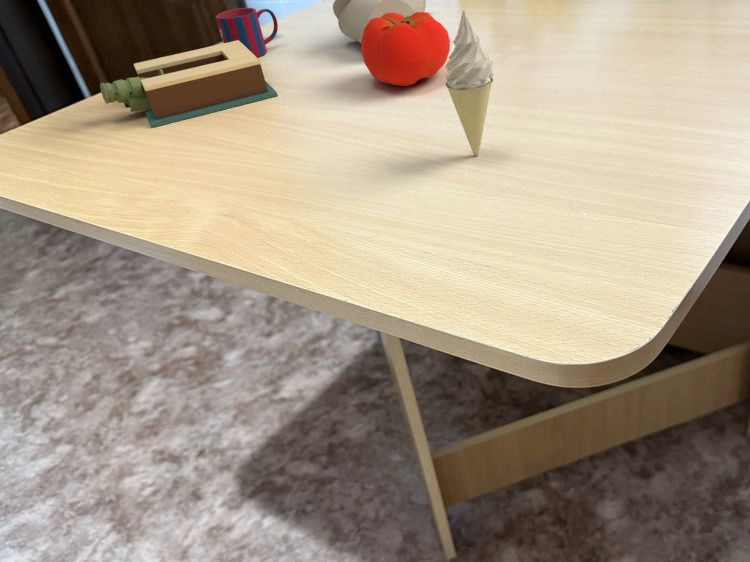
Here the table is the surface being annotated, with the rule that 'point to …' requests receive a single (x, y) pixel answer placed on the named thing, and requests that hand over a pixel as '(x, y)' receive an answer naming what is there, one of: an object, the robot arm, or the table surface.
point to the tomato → (404, 47)
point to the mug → (245, 28)
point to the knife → (127, 93)
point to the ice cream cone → (469, 82)
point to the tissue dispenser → (202, 82)
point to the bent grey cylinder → (370, 13)
